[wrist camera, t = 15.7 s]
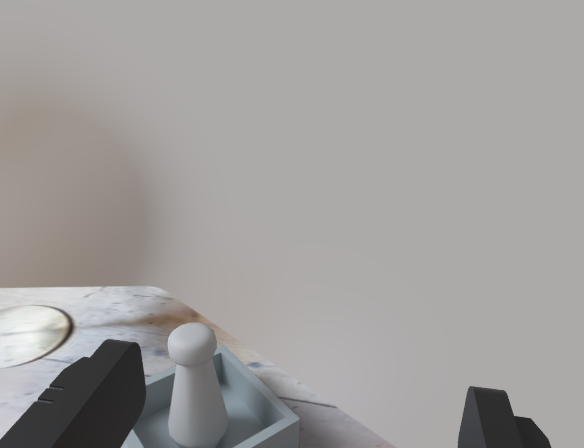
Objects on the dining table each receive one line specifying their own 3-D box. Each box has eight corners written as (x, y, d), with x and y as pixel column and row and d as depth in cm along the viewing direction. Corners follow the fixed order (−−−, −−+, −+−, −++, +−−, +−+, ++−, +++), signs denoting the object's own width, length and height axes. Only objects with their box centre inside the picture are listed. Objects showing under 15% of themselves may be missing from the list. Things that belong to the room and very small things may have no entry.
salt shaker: (166, 466, 46) (152, 354, 41) (173, 419, 51) (161, 315, 46) (229, 461, 47) (223, 350, 41) (230, 415, 52) (224, 312, 47)
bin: (225, 378, 58) (224, 344, 56) (299, 457, 48) (300, 418, 46) (108, 435, 50) (101, 398, 48) (166, 543, 40) (160, 501, 38)
